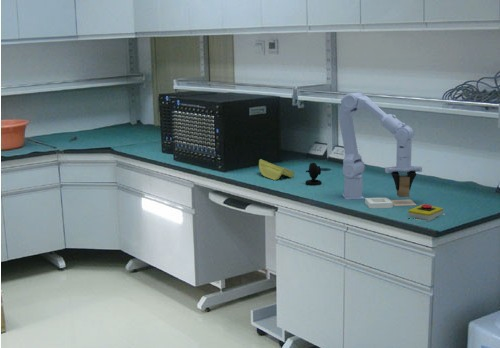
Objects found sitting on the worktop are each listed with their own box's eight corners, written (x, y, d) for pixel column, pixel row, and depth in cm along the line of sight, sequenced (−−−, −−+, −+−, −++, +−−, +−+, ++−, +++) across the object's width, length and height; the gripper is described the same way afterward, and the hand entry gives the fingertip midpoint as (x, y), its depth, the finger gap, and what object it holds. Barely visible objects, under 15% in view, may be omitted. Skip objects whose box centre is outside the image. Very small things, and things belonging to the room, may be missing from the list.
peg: (396, 194, 277) (397, 175, 276) (406, 194, 278) (407, 175, 276) (399, 197, 273) (399, 177, 272) (409, 196, 274) (409, 177, 272)
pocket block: (365, 204, 277) (365, 198, 277) (387, 203, 277) (387, 197, 277) (369, 209, 268) (370, 203, 268) (392, 209, 269) (392, 202, 268)
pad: (388, 201, 280) (388, 200, 280) (410, 200, 281) (410, 199, 281) (394, 207, 272) (394, 205, 272) (416, 206, 272) (416, 204, 272)
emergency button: (446, 204, 259) (426, 212, 248) (445, 215, 260) (425, 224, 249) (424, 200, 265) (403, 208, 254) (423, 211, 266) (403, 219, 255)
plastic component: (296, 173, 330) (282, 166, 324) (290, 187, 330) (276, 180, 324) (272, 164, 346) (258, 157, 340) (266, 177, 346) (252, 171, 340)
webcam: (324, 184, 313) (324, 163, 311) (308, 186, 311) (308, 164, 309) (317, 181, 321) (317, 160, 319) (302, 182, 319) (302, 161, 317)
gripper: (388, 158, 268) (387, 192, 271) (424, 157, 269) (423, 191, 271) (384, 155, 275) (383, 188, 278) (419, 154, 276) (418, 187, 278)
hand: (403, 189), depth 275 cm, fingers closed on peg, 4 cm apart
